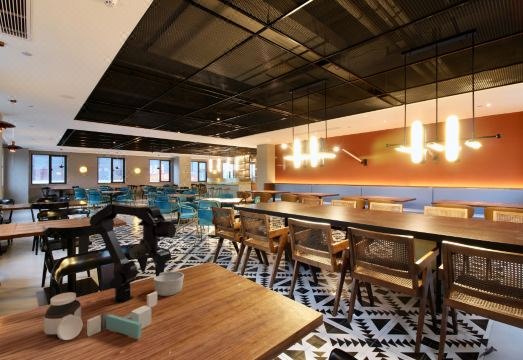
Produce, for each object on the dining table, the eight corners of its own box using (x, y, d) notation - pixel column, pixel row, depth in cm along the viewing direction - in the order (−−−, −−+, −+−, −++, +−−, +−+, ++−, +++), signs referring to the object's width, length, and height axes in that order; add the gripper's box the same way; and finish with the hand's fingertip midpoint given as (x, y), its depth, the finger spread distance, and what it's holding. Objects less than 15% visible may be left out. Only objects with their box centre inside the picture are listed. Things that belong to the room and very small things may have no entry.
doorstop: (131, 327, 91) (131, 311, 91) (144, 320, 95) (144, 305, 95) (138, 330, 89) (138, 314, 89) (151, 323, 93) (151, 308, 93)
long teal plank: (106, 328, 88) (106, 315, 88) (109, 326, 89) (109, 314, 89) (138, 338, 83) (138, 324, 83) (141, 336, 84) (141, 323, 84)
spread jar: (63, 322, 93) (64, 290, 93) (94, 323, 93) (95, 290, 93) (33, 343, 81) (33, 306, 81) (68, 344, 81) (69, 307, 81)
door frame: (86, 334, 86) (86, 319, 86) (154, 303, 108) (154, 290, 108) (89, 337, 84) (90, 321, 84) (158, 304, 107) (158, 291, 107)
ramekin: (172, 283, 129) (172, 269, 129) (189, 289, 121) (189, 274, 121) (147, 292, 118) (147, 277, 118) (164, 300, 111) (164, 284, 111)
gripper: (118, 237, 106) (118, 275, 106) (147, 243, 96) (147, 285, 96) (143, 232, 116) (143, 267, 116) (171, 237, 106) (171, 276, 106)
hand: (150, 274), depth 108 cm, fingers open, 9 cm apart
